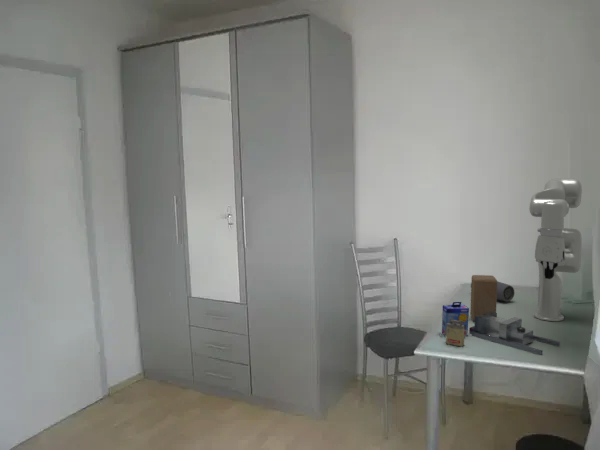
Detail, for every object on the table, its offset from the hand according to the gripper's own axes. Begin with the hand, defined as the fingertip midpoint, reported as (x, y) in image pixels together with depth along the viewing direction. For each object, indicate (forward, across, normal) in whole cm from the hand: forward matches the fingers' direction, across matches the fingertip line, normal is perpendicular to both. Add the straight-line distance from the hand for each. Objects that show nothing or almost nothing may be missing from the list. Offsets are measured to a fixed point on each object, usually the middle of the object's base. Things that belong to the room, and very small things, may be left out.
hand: (549, 278), depth 201 cm
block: (+27, -32, +6) cm, 42 cm away
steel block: (+26, -16, -10) cm, 32 cm away
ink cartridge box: (+26, -28, -22) cm, 44 cm away
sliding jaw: (+25, -7, -10) cm, 28 cm away
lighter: (+26, -21, -32) cm, 46 cm away
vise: (+26, -9, -10) cm, 29 cm away
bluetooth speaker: (+29, -50, +44) cm, 72 cm away
